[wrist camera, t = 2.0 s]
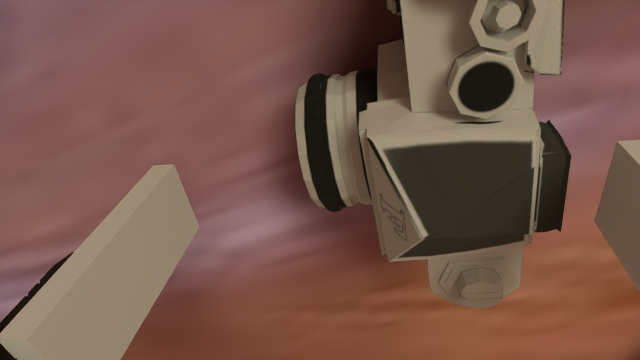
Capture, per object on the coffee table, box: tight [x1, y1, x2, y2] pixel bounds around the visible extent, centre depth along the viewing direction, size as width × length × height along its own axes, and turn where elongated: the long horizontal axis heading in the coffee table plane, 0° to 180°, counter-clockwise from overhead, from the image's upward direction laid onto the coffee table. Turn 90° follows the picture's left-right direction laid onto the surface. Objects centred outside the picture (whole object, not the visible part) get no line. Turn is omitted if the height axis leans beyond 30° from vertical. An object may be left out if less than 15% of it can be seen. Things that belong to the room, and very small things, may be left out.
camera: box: [295, 0, 571, 309], centre depth 15 cm, size 16×9×10 cm, turn 13°
